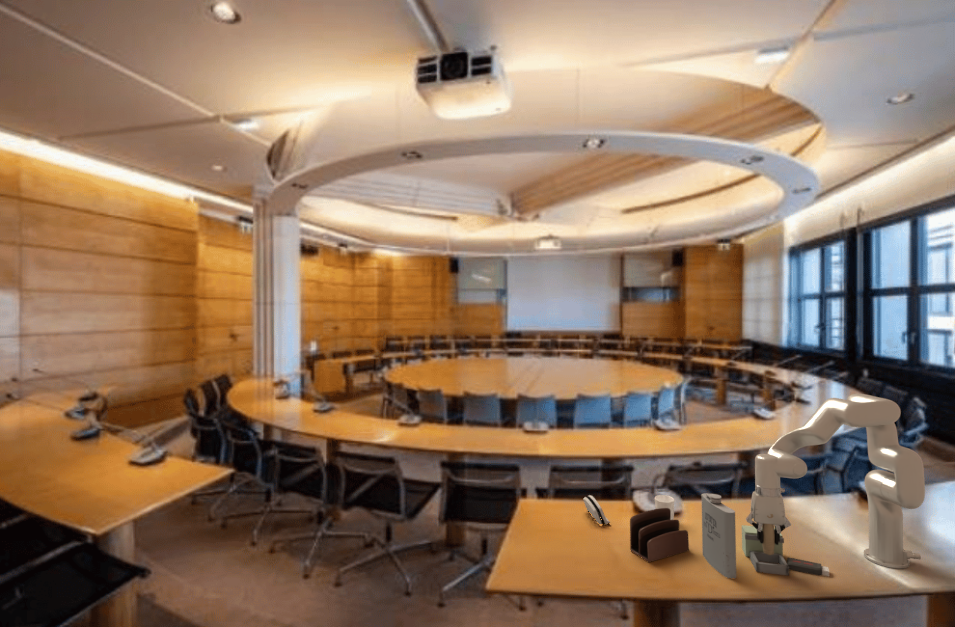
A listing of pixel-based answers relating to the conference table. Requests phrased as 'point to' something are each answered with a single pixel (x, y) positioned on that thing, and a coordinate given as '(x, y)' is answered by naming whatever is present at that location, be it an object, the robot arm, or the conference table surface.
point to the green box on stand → (756, 553)
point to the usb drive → (807, 567)
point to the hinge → (595, 509)
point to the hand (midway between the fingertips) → (768, 541)
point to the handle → (768, 538)
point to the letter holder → (657, 535)
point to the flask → (718, 535)
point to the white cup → (665, 503)
